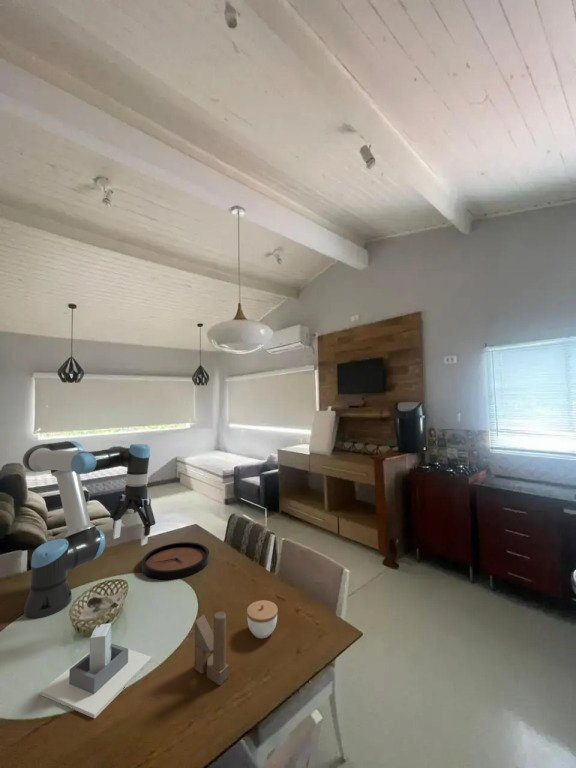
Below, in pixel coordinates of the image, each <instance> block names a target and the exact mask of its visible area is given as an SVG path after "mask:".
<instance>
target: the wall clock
mask: <svg viewBox="0 0 576 768" xmlns="http://www.w3.org/2000/svg"><path fill="white" fill-rule="evenodd" d="M209 562H210V550H209V548H208V547H207V546H206V545H204V544H201V543H198V542H190V541H181V542H172V543H169V544H168V543H167V544H164V545H161V546H159V547H156V548H154V549H152V550H150V551H149V552H148V553H146V554H145V555H144V556H143V558H142V560H141V572H142V574H143V575H144V576H145V577H146V578H148V579H151V580H153V581H154V580H155V581H164V582H165V581H167V582H168V581H177V580H181V579H184V578H185V579H186V578H188V577H192V576H194V575H196V574H198V573H199V572H201V571H203V570H204V569H205V568H206V567H207V566H208V565H209Z"/></svg>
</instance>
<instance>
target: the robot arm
mask: <svg viewBox="0 0 576 768" xmlns="http://www.w3.org/2000/svg"><path fill="white" fill-rule="evenodd" d="M150 451H151V446H150V445H148V444H145V443H132V444H130V445H129V447H125V446H124V447H123V446H111V447H109V448H107V449H102V450H93V451H87V450H86V451H85V449H84V447H83V445H82V444H80V443H79V442H77V441H74V440H71V441H68V440H67V441H66V440H65V441H59V442H49V443H42V444H37V445H34V446H31V447H30V448H29V449H28V450H27V451H25V453H24V454H23V456H22V465H23V467H24V468H25V469H26V470H28V471H30V472H33V473H34V472H37V473H38V472H47V471H50V473H51V476H53V477H55V478H56V482H57V486H58V487H57V488H58V491H59V496H60V501H61V506H62V509H63V515H64V518H65V519H64V520H65V524H66V529H67V533H66V534H65V535H64V538H56V539H53V540H49V541H46V542H44V543H42V544H41V545H39V546H38V547H37V548H35V549H34V550H33V552H32V555H31V561H30V566H31V567H30V591H29V593H28V596H27V599H26V602H25V604H24V606H23V607H24V608H23V614H24V616H25V617H27V618H30V619H37V618H43V617H44V618H45V617H47V616H52V615H54V614H56V613H58V612H60V611H61V610H63V609H65V608H66V607H68V606H69V604H71V602H72V590H71V588H70V585H69V582H68V572H69V571H72V570H74V569H76V568H79V567H81V566H82V565H85V564H88V563H90V562H93V560H96V559H97V558H99V557H101V555H102V554H103V552H104V549H105V547H106V537H105V534H104V532H103V531H102V530H101V529H98V528H97V526H96V525H95V524H93V523H92V522H91V519H90V514H89V510H88V505H87V502H86V498H85V493H84V490H83V489H84V488H83V484H82V480H81V476H80V475H87V474H90V473H94V472H99V471H104V470H108V469H113V468H114V469H115V468H118V467H120V468H121V467H122V468H127V469H126V479H125V484H126V485H125V486H124V494H120V495H118V498H117V502H116V503H115V505H114V507H113V508H112V510H111V513H110V515H109V519H112V520H113V524H112V528H113V535H112V539H113V540H116V539H118V538H120V536H121V529H122V523H123V522H122V517H123V515H125V513H126V512H127V511H128V510H134V511H135V512H136V513H137V514H138V516H139V518H140V521H141V522H142V524H143V526H142V528H141V529H142V530H141V536H140V546H144V545H146V544H148V541H149V540H148V539H149V535H150V534H151V527H153V526H154V525H156V519H155V515H154V512H153V507H152V500H151V498H145V495H146V492H147V482H148V470H149V463H150V462H149V461H150V456H151V454H150V453H151V452H150Z"/></svg>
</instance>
